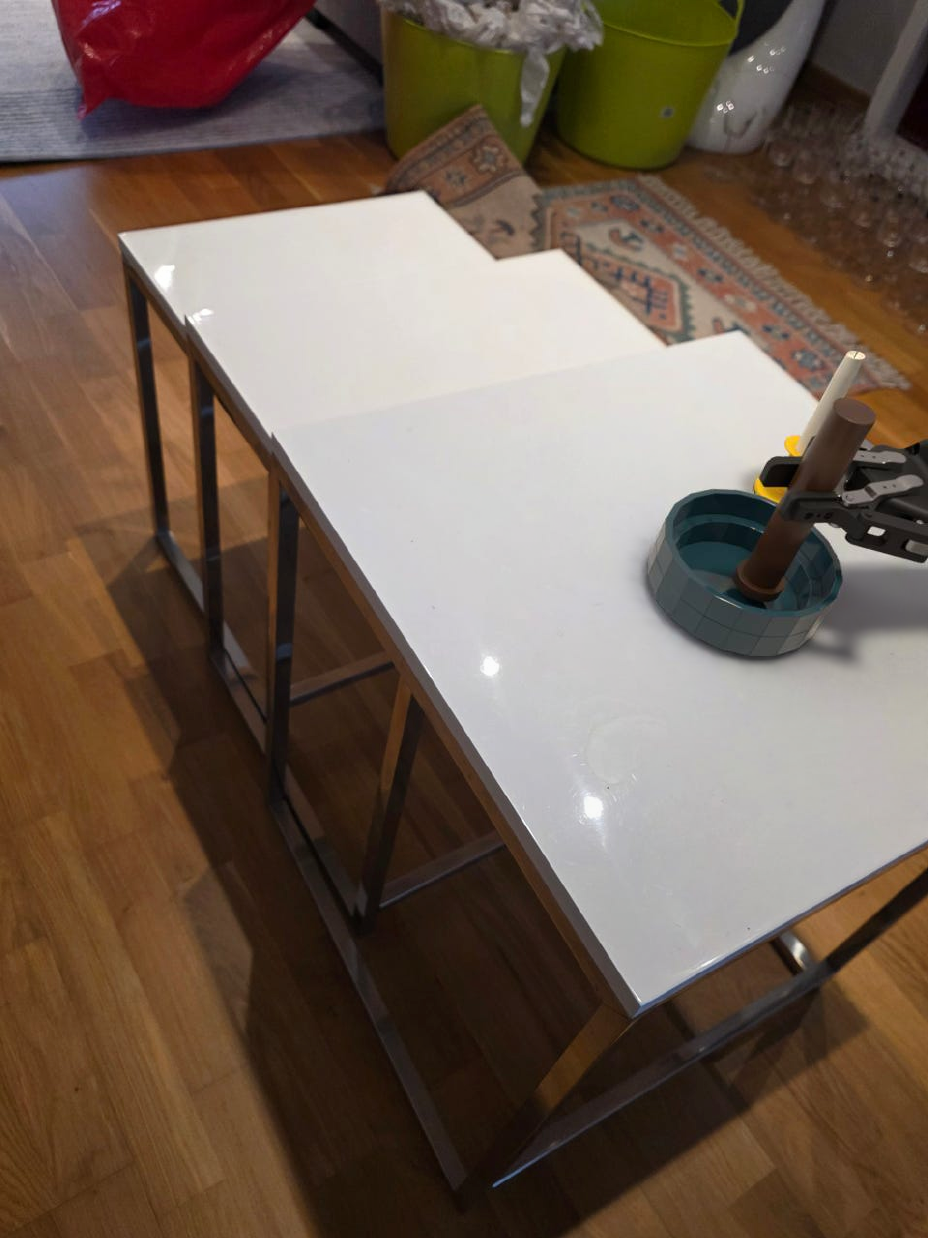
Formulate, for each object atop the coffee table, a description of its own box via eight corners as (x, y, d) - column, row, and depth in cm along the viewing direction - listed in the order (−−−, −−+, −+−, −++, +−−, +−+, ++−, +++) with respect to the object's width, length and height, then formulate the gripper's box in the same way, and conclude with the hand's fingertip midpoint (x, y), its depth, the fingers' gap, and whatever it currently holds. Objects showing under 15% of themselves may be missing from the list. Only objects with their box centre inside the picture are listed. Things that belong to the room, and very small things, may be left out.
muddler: (790, 595, 77) (896, 423, 64) (752, 607, 75) (853, 432, 63) (760, 561, 79) (856, 388, 66) (722, 572, 77) (814, 396, 65)
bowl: (849, 635, 77) (879, 593, 74) (712, 679, 72) (738, 635, 68) (744, 520, 85) (766, 476, 82) (613, 551, 79) (631, 505, 76)
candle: (744, 494, 88) (819, 345, 77) (765, 469, 91) (840, 323, 80) (796, 522, 86) (880, 375, 75) (815, 495, 90) (899, 350, 78)
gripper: (953, 392, 75) (756, 387, 71) (1059, 514, 66) (841, 517, 62) (904, 466, 80) (719, 466, 76) (996, 589, 72) (793, 596, 67)
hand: (775, 489), depth 69 cm, fingers closed on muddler, 3 cm apart
